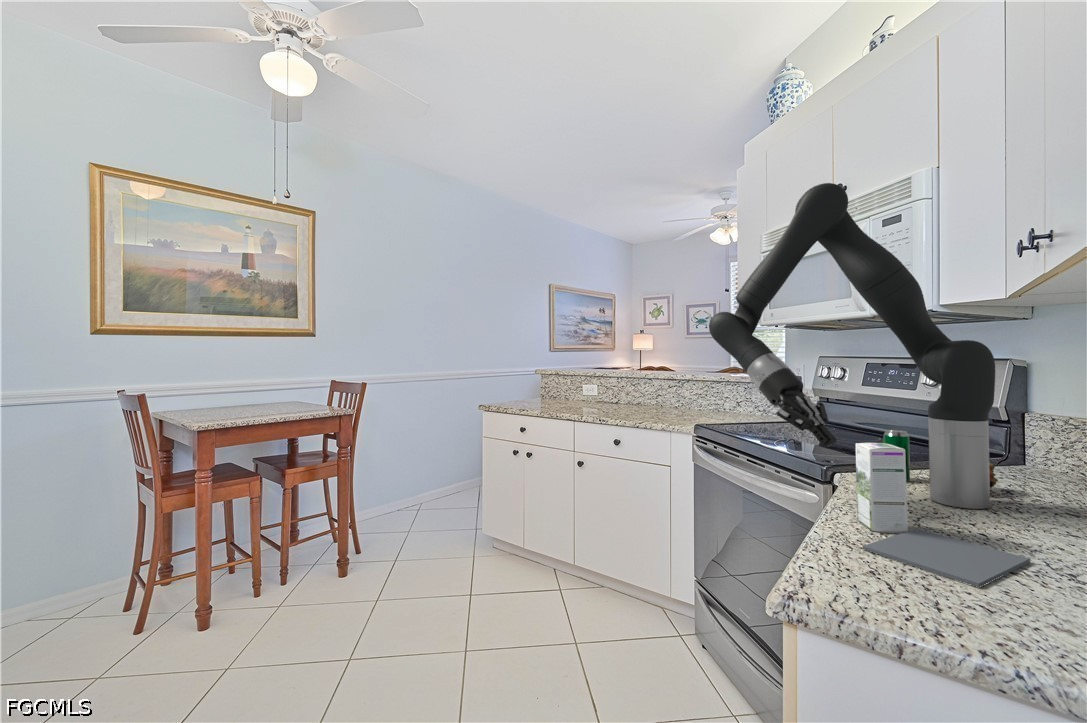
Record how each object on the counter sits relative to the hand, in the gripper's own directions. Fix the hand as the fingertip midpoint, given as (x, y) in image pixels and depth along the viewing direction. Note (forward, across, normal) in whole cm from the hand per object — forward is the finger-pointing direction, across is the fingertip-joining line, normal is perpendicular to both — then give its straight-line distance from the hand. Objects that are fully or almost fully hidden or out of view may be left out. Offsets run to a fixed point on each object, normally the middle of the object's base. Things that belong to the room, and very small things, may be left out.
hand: (831, 444), depth 89 cm
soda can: (+4, +39, +15) cm, 42 cm away
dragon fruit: (+13, +42, +6) cm, 45 cm away
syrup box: (+16, 0, +4) cm, 16 cm away
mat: (+23, -5, -4) cm, 24 cm away
